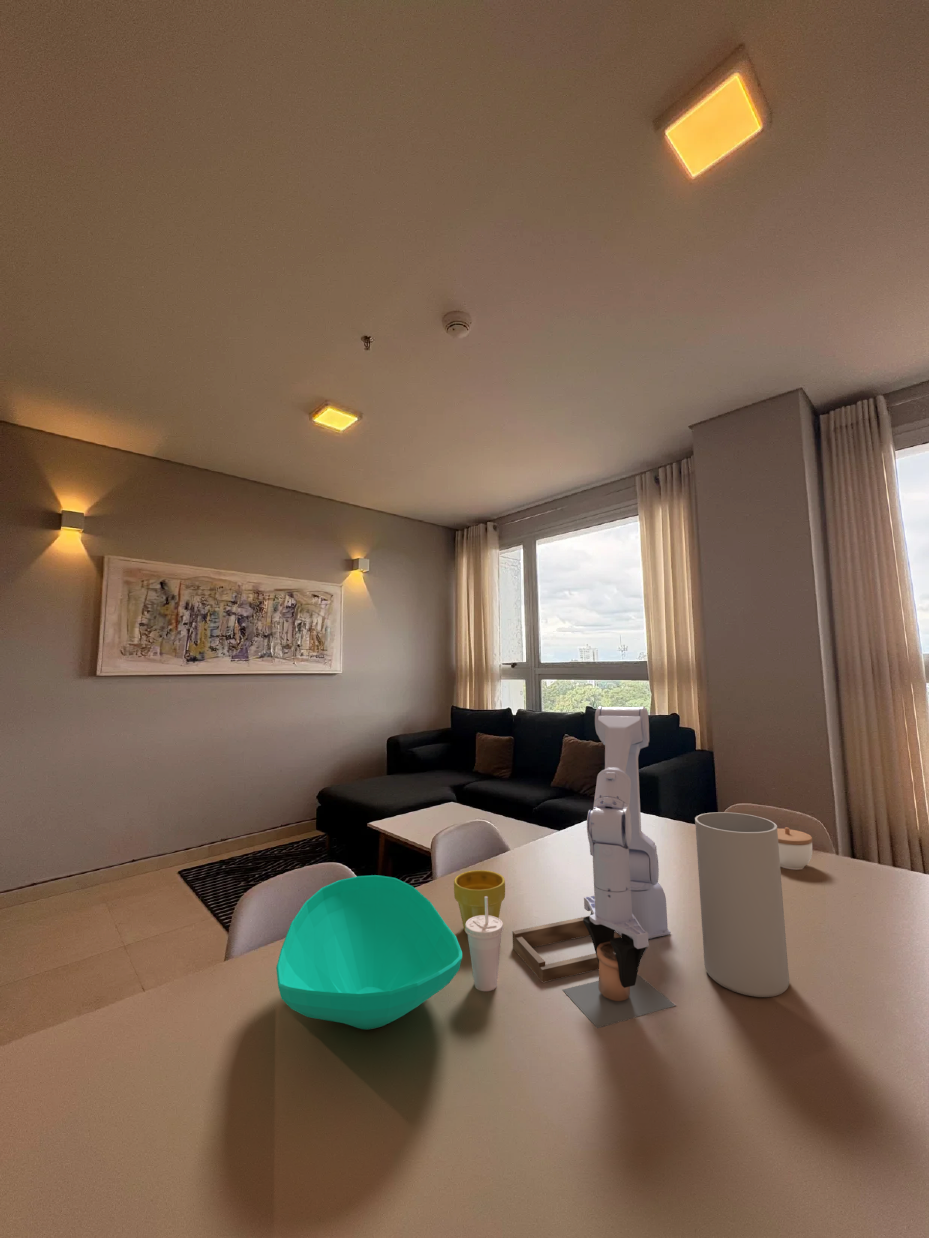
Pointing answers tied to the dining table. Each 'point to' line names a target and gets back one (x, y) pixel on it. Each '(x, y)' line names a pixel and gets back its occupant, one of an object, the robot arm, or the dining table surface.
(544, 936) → the cold frame
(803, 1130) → the dining table surface
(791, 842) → the lidded jar
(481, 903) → the plant pot
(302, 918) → the table top decor
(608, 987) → the terracotta pot
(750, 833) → the cylinder vase
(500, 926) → the smoothie
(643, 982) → the potting mat
